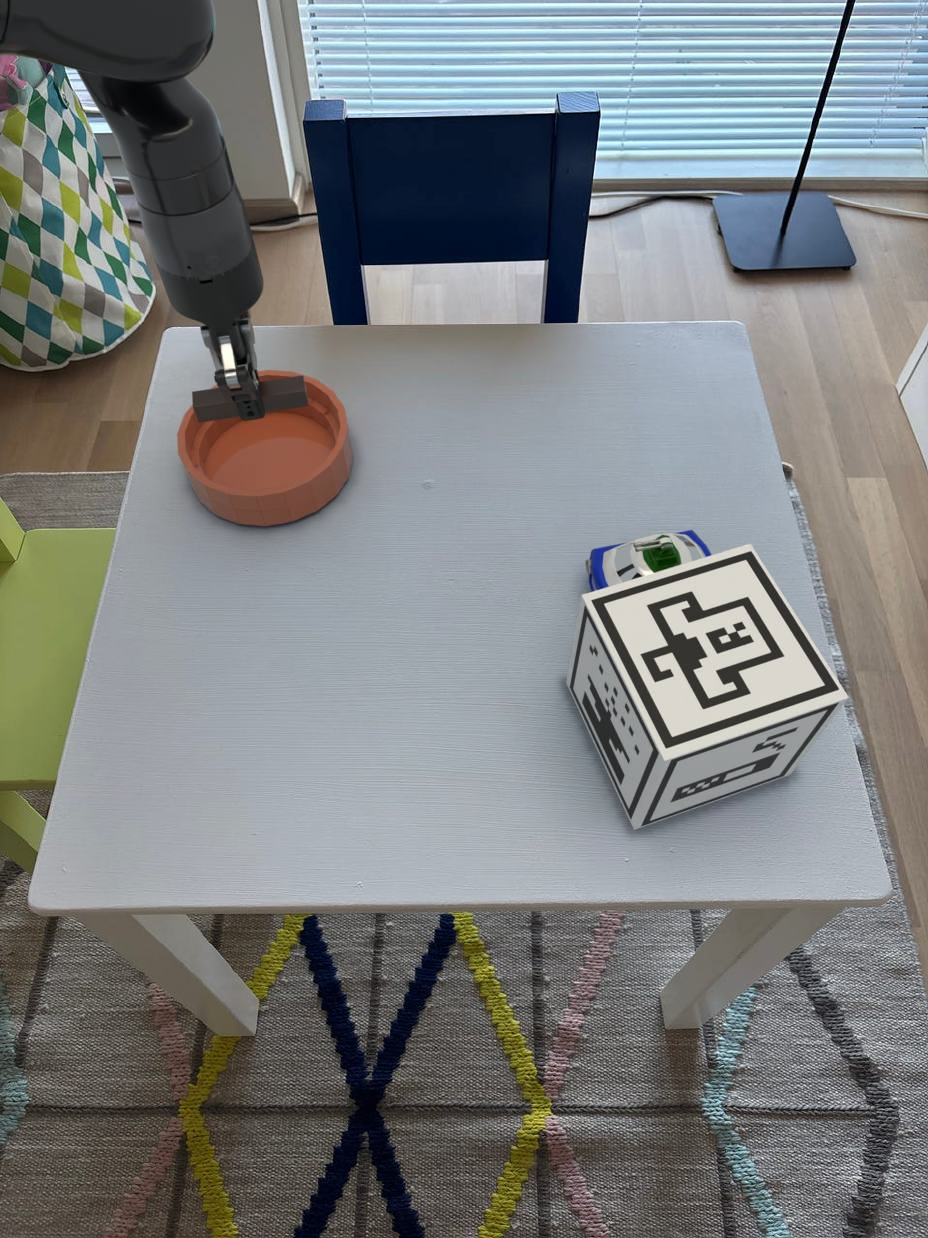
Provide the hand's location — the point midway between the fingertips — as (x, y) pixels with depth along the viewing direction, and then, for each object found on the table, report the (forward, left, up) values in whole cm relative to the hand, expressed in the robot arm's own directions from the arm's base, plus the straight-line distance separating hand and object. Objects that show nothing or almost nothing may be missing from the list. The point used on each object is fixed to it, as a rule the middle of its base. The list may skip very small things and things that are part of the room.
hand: (252, 406), depth 83 cm
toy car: (+34, -18, -16) cm, 42 cm away
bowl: (-1, +7, -16) cm, 17 cm away
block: (+32, -32, -16) cm, 48 cm away
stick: (0, 0, 0) cm, 0 cm away
